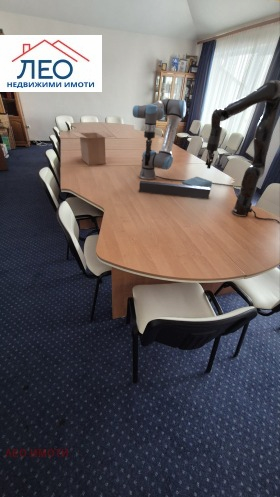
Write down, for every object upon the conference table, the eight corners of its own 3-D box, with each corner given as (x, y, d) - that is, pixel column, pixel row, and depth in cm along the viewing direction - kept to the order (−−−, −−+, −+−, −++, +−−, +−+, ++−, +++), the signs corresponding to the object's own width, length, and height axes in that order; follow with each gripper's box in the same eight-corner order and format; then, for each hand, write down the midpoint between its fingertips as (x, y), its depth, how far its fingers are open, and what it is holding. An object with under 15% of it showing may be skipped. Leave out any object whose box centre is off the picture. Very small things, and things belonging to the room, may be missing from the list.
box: (116, 165, 229) (116, 136, 213) (83, 168, 214) (80, 137, 198) (102, 154, 259) (101, 128, 243) (71, 156, 244) (68, 129, 228)
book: (195, 181, 203) (197, 176, 200) (211, 187, 194) (212, 181, 191) (181, 187, 190) (182, 181, 187) (196, 193, 181) (197, 187, 178)
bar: (139, 192, 176) (139, 182, 172) (139, 189, 180) (140, 180, 176) (208, 199, 173) (210, 189, 169) (207, 196, 177) (209, 187, 173)
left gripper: (154, 134, 142) (151, 168, 155) (156, 129, 162) (153, 159, 175) (142, 133, 143) (140, 167, 155) (146, 128, 163) (143, 158, 175)
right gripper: (220, 145, 146) (214, 170, 156) (217, 141, 158) (211, 164, 167) (209, 144, 147) (203, 169, 156) (206, 140, 158) (201, 163, 168)
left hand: (147, 163), depth 165 cm, fingers open, 13 cm apart
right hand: (207, 166), depth 162 cm, fingers open, 8 cm apart
